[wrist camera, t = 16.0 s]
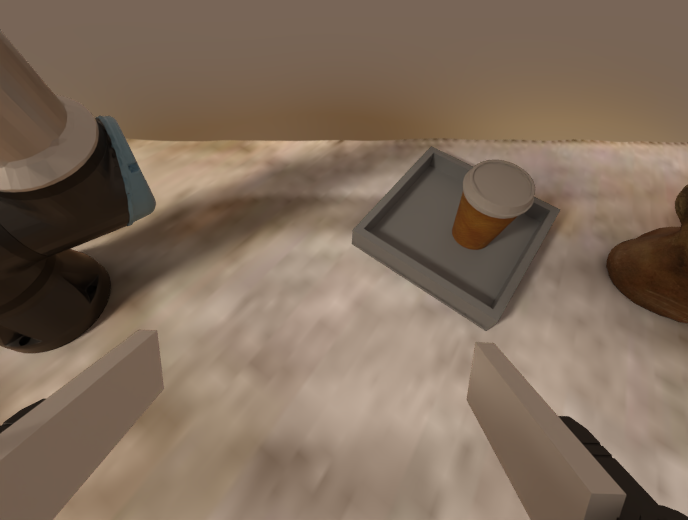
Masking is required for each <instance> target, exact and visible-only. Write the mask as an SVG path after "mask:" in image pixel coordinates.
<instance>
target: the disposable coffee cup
mask: <svg viewBox="0 0 688 520" xmlns="http://www.w3.org/2000/svg"><path fill="white" fill-rule="evenodd" d="M534 195H535V185H534V182H533V180H532V178H531V177H530V175H529V174H528V173H527V172H526V171H525V170H523V169H522V168H520V167H519V166H517V165H515V164H513V163H510V162H507V161H503V160H487V161H483V162H480V163H478V164H477V165H476V166H475V167H473V168H472V169H471V170H469V171H468V172H467V173H466V175H465V177H464V180H463V193H462V196H461V200H460V203H459V207H458V210H457V214H456V217H455V221H454V225H453V228H452V235H453V237H454V239H455V240H456V242H457V243H458V244H460V245H461V246H463V247H465V248H467V249H471V250H479V249H483V248H485V247H486V246H487V245H488V244H489V243H490V242H491V241H492V240H493V239H494V238H496V237H497V236H498V235H499V234H500V233H501V232H502V231H503V230H504V229H505V228H506V227H507V226H508V225H509V224H510V223H511V222H512V221H513V220H514V219H515V218H516V217H517V216H519V215H521V214H523V213H525V212H526V211H527V210H528V209H529V208H530V207H531V206H532V204H533V202H534Z"/></svg>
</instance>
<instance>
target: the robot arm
mask: <svg viewBox="0 0 688 520" xmlns="http://www.w3.org/2000/svg"><path fill="white" fill-rule="evenodd" d="M155 206H156V201H155V198H154V196H153V194H152V192H151V190H150V188H149V186H148V184H147V182H146V180H145V178H144V176H143V174H142V172H141V170H140V168H139V166H138V163H137V161H136V159H135V157H134V155H133V153H132V151H131V149H130V147H129V145H128V143H127V141H126V139H125V137H124V135H123V133H122V131H121V129H120V127H119V125H118V123H117V121H116V120H115V119H114V118H113V117H111V116H105V117H103V116H98V117H96V118H95V117H94V116H93V115H92V113H91V112H89V110H88V109H87V108H86V107H85V106H84V105H82V104H81V103H79V102H77V101H75V100H73V99H71V98H68V97H64V96H60V95H55V94H54V93H53V92H52V91H51V89H50V88H49V87H48V86H47V85H46V84H45V82H44V81H43V80H42V79H41V78H40V76H39V75H38V74H37V73H36V71H35V70H34V69H33V68H32V67H31V66H30V64H29V63H28V62H27V61H26V60H25V58H24V57H23V56H22V55H21V54H20V53H19V51H18V50H17V49H16V48H15V46H14V45H13V44H12V43H11V42H10V40H9V39H8V38H7V37H6V36H5V34H4V33H3V32H2V31H1V30H0V346H2V347H5V348H8V349H11V350H14V351H17V352H22V353H40V352H45V351H49V350H52V349H55V348H58V347H60V346H63V345H65V344H67V343H68V342H70V341H72V340H74V339H75V338H77V337H78V336H80V335H81V334H82V333H83V332H85V331H86V330H87V329H88V328H89V327H90V326H91V325H92V324H93V323H94V322H95V321H96V319H97V318H98V317H99V316H100V314H101V313H102V311H103V309H104V308H105V306H106V303H107V301H108V298H109V294H110V278H109V275H108V273H107V271H106V270H105V268H104V267H103V266H102V265H101V264H99V263H98V262H97V261H95V260H94V259H93V258H91V257H90V256H88V255H86V254H84V253H81V252H78V251H75V250H72V249H71V248H73V247H76V246H78V245H81V244H83V243H86V242H88V241H91V240H93V239H96V238H98V237H101V236H103V235H106V234H108V233H111V232H113V231H116V230H118V229H121V228H123V227H126V226H130V225H132V224H133V222H135V221H137V220H139V219H141V218H143V217H145V216H147V215H149V214H151V213H152V212H153V211H154V209H155ZM163 389H164V385H163V376H162V368H161V359H160V351H159V342H158V333H157V331H155V330H138V331H136V332H135V333H134V334H132V335H131V336H130V337H128V338H127V339H126V340H124V341H123V342H122V343H120V344H119V345H118V346H116V347H115V348H114V349H112V350H111V351H110V352H108V353H107V354H106V355H104V356H103V357H102V358H100V359H99V360H98V361H96V362H95V363H94V364H92V365H91V366H90V367H88V368H87V369H86V370H84V371H83V372H82V373H80V374H79V375H78V376H76V377H75V378H74V379H72V380H71V381H70V382H68V383H67V384H66V385H64V386H63V387H62V388H60V389H59V390H58V391H56V392H55V393H54V394H52V395H51V396H50V397H48V398H47V399H42V400H40V401H38V402H36V403H34V404H32V405H30V406H28V407H26V408H24V409H22V410H20V411H19V412H17V413H16V414H15V415H13V416H12V417H11V418H9V419H8V420H6V421H5V422H4V423H3V425H2V426H0V520H53V519H54V518H55V516H56V515H57V514H58V513H59V512H60V511H61V509H62V508H63V507H64V506H65V505H66V503H67V502H68V501H69V500H70V499H71V498H72V496H73V495H74V494H75V493H76V492H77V491H78V489H79V488H80V487H81V486H82V485H83V483H84V482H85V481H86V480H87V479H88V478H89V476H90V475H91V474H92V473H93V472H94V470H95V469H96V468H97V467H98V466H99V465H100V463H101V462H102V461H103V460H104V459H105V458H106V456H107V455H108V454H109V453H110V452H111V450H112V449H113V448H114V447H115V446H116V445H117V443H118V442H119V441H120V440H121V439H122V438H123V436H124V435H125V434H126V433H127V432H128V430H129V429H130V428H131V427H132V426H133V425H134V423H135V422H136V421H137V420H138V419H139V417H140V416H141V415H142V414H143V413H144V412H145V410H146V409H147V408H148V407H149V406H150V405H151V403H152V402H153V401H154V400H155V399H156V397H157V396H158V395H159V394H160V393H161V392H162V390H163ZM467 401H468V403H469V405H470V407H471V409H472V411H473V413H474V414H475V416H476V418H477V420H478V422H479V424H480V426H481V428H482V429H483V431H484V433H485V435H486V437H487V439H488V441H489V443H490V444H491V446H492V448H493V450H494V452H495V454H496V456H497V458H498V459H499V461H500V463H501V465H502V467H503V469H504V471H505V473H506V474H507V476H508V478H509V480H510V482H511V484H512V486H513V488H514V489H515V491H516V493H517V495H518V497H519V499H520V501H521V503H522V504H523V506H524V508H525V510H526V512H527V514H528V516H529V517H530V519H531V520H688V517H687V516H686V515H684V514H682V513H680V512H679V511H676V510H673V509H671V508H668V507H665V506H661V505H658V504H657V503H656V502H655V501H654V500H653V498H652V497H651V496H650V495H649V494H648V493H647V492H646V491H645V490H644V489H643V488H642V487H641V486H640V485H639V484H638V483H637V482H636V480H635V479H634V478H633V477H632V476H631V475H630V474H629V473H628V472H627V471H626V470H625V469H624V468H623V467H622V466H621V465H620V464H619V462H618V461H617V460H616V459H615V458H612V455H611V454H610V453H609V452H608V451H607V450H606V449H605V448H604V447H603V446H601V445H600V442H599V441H598V440H597V439H596V438H595V437H594V436H593V435H592V434H591V433H590V432H589V431H588V430H587V429H586V428H585V427H583V426H582V425H580V424H579V423H578V422H576V421H575V420H573V419H572V418H570V417H568V416H557V415H556V413H555V412H554V411H553V410H552V409H551V408H550V407H549V405H548V404H547V403H546V402H545V401H544V400H543V399H542V397H541V396H540V395H539V394H538V393H537V392H536V391H535V389H534V388H533V387H532V386H531V385H530V384H529V383H528V381H527V380H526V379H525V378H524V377H523V376H522V375H521V373H520V372H519V371H518V370H517V369H516V368H515V367H514V365H513V364H512V363H511V362H510V361H509V360H508V359H507V357H506V356H505V355H504V354H503V353H502V352H501V351H500V349H499V348H498V347H497V346H496V345H495V344H494V343H481V342H475V348H474V354H473V361H472V367H471V374H470V380H469V387H468V394H467Z"/></svg>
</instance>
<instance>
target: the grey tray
mask: <svg viewBox="0 0 688 520" xmlns="http://www.w3.org/2000/svg"><path fill="white" fill-rule="evenodd" d="M472 168H473V167H472V166H470V165H468V164H466V163H464V162H462V161H460V160H458V159H456V158H454V157H452V156H450V155H448V154H446V153H444V152H442V151H440V150H438V149H436V148H434V147H432V146H431V147H430V148H429V149H428V150H427V151H426V152H425V153H424V155H423V156H422V157H421V158H420V159H419V160H418V161H417V162H416V163H415V164H414V165H413V166H412V167H411V168H410V169H409V170H408V172H407V173H406V174H405V175H404V176H403V177H402V178H401V179H400V180H399V181H398V182H397V183H396V184H395V185H394V186H393V188H392V189H391V190H390V191H389V192H388V193H387V194H386V195H385V196H384V197H383V198H382V199H381V200H380V201H379V202H378V203H377V205H376V206H375V207H374V208H373V209H372V210H371V211H370V212H369V213H368V214H367V215H366V216H365V217H364V218H363V219H362V220H361V222H360V223H359V224H358V225H357V226H356V227H355V228H354V229H353V235H352V244H353V245H354V246H356V247H357V248H359V249H360V250H362V251H363V252H365V253H367V254H368V255H370V256H371V257H373V258H374V259H376V260H377V261H379V262H380V263H382V264H384V265H385V266H387V267H388V268H390V269H391V270H393V271H394V272H396V273H397V274H399V275H400V276H402V277H404V278H405V279H407V280H408V281H410V282H411V283H413V284H414V285H416V286H417V287H419V288H421V289H422V290H424V291H425V292H427V293H428V294H430V295H431V296H433V297H434V298H436V299H437V300H439V301H441V302H442V303H444V304H445V305H447V306H448V307H450V308H451V309H453V310H454V311H456V312H458V313H459V314H461V315H462V316H464V317H465V318H467V319H468V320H470V321H471V322H473V323H474V324H476V325H478V326H479V327H481V328H482V329H484V330H485V331H487V330H488V329H490V328H491V327H492V326H493V325H494V324H496V323H497V322H498V321H499V319H500V317H501V315H502V313H503V312H504V310H505V308H506V306H507V304H508V303H509V301H510V299H511V297H512V296H513V294H514V292H515V290H516V288H517V287H518V285H519V283H520V281H521V279H522V278H523V276H524V274H525V272H526V270H527V269H528V267H529V265H530V263H531V261H532V260H533V258H534V256H535V254H536V253H537V251H538V249H539V247H540V245H541V244H542V242H543V240H544V238H545V236H546V235H547V233H548V231H549V229H550V227H551V226H552V224H553V222H554V220H555V218H556V217H557V215H558V213H559V211H560V209H558V208H556V207H554V206H552V205H550V204H548V203H546V202H544V201H542V200H540V199H538V198H536V197H534V202H533V204H532V206H531V207H530V208H529V209H528V210H527V211H526V212H525V213H523V214H521V215H519V216H517V217H516V218H515V219H514V220H513V221H512V222H511V223H510V224H509V225H508V226H507V227H506V228H505V229H504V230H503V231H502V232H501V233H500V234H499V235H498V236H497V237H496V238H494V239H493V240H492V241H491V242H490V243H489V244H488V245H487V246H486V247H485V248H483V249H479V250H471V249H467V248H465V247H463V246H461V245H460V244H458V243H457V242H456V240H455V239H454V237H453V235H452V228H453V225H454V221H455V217H456V214H457V210H458V207H459V203H460V200H461V196H462V193H463V180H464V177H465V175H466V173H467V172H468V171H469V170H471V169H472Z"/></svg>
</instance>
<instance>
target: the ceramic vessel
mask: <svg viewBox="0 0 688 520" xmlns="http://www.w3.org/2000/svg"><path fill="white" fill-rule="evenodd" d="M675 209H676V214H677V215H678V217H679V219H680V222H681V227H665V228H659V229H656V230H653V231H650V232H648V233H645V234H643V235H641V236H639V237H638V238H636V239H631V240H628V241H625V242H622V243H620V244H618V245H617V246H615V247H614V248H613V249H612V250H611V252H610V253H609V255H608V259H607V265H606V267H607V269H608V273H609V277H610V279H611V280H612V282H613V284H614V285H615V286H616V287H617V288H618V289H619V290H620V291H621V292H622V293H623V294H624V295H625V296H626V297H627V298H629V299H630V300H631V301H633V302H634V303H636V304H637V305H639V306H641V307H643V308H645V309H647V310H650V311H652V312H654V313H656V314H659V315H661V316H664V317H668V318H671V319H673V320H676V321H678V322H683V323H688V185H686V186H685V187H684V188H683V189H682V191H681V192H680V193H679V195H678V196H677V198H676V201H675Z"/></svg>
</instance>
